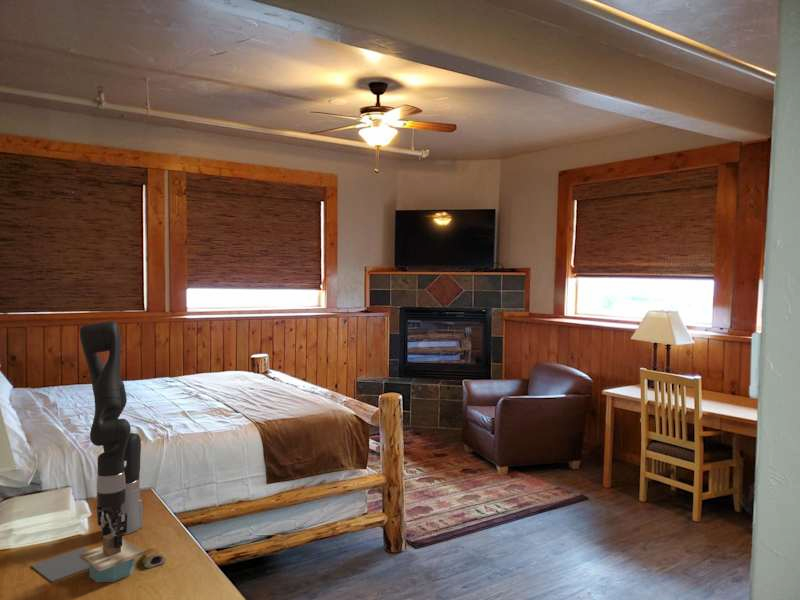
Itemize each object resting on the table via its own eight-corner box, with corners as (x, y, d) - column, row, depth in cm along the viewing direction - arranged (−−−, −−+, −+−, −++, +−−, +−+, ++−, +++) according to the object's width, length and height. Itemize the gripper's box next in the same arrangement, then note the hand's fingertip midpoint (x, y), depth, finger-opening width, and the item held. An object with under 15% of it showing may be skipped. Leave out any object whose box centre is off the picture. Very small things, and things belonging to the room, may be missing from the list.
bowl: (121, 559, 181) (121, 543, 180) (140, 570, 174) (140, 554, 174) (84, 573, 172) (84, 557, 172) (102, 586, 165) (102, 568, 165)
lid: (123, 541, 182) (122, 522, 181) (144, 554, 174) (144, 534, 173) (78, 557, 171) (78, 537, 171) (99, 571, 163) (99, 550, 163)
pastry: (137, 558, 182) (137, 546, 182) (160, 552, 186) (160, 540, 186) (145, 570, 175) (145, 557, 174) (168, 564, 179) (168, 551, 178)
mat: (83, 548, 188) (83, 547, 188) (105, 562, 179) (105, 561, 179) (31, 566, 176) (31, 565, 176) (52, 582, 167) (52, 581, 167)
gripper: (136, 489, 170) (137, 546, 171) (112, 479, 179) (113, 533, 180) (110, 497, 164) (111, 556, 165) (86, 485, 173) (87, 541, 174)
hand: (112, 543), depth 172 cm, fingers open, 6 cm apart
